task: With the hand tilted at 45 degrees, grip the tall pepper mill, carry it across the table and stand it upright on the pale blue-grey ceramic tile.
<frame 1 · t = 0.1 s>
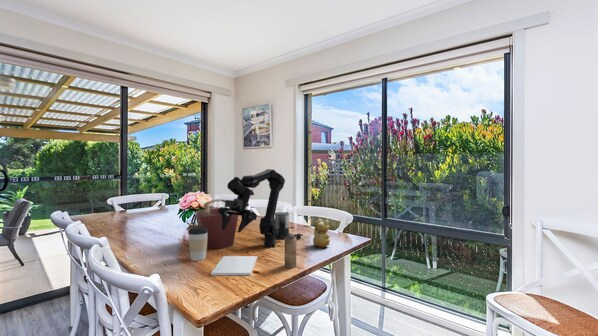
hand: (230, 231, 126), 15 cm above the table, tool tilted 35°, fingers open, 9 cm apart
pepper mill: (290, 266, 124), on the table
decorative figurine: (320, 247, 152), on the table
milk frother: (288, 238, 170), on the table
coffee cup: (198, 258, 134), on the table
bucket: (217, 244, 156), on the table
ceramic tile: (235, 266, 124), on the table
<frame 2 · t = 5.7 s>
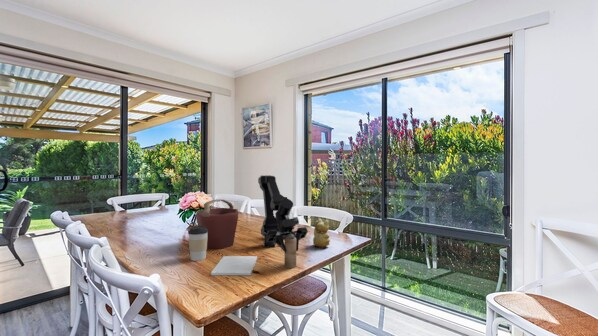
hand: (291, 251, 123), 7 cm above the table, tool tilted 45°, fingers closed on pepper mill, 5 cm apart
pepper mill: (290, 266, 124), on the table, touching gripper
everything else where it was.
when the fingers open (9 cm above the table, at t = 10.9 s): pepper mill drops 1 cm, resting on ceramic tile.
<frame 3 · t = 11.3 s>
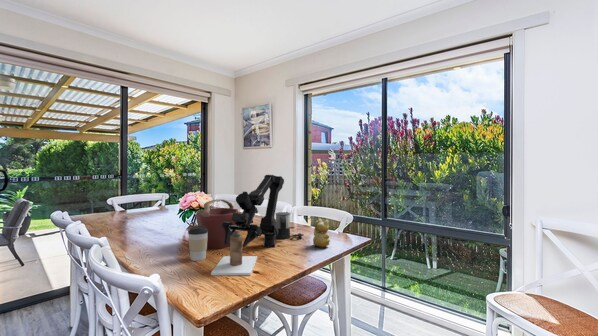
hand: (234, 245, 122), 9 cm above the table, tool tilted 45°, fingers open, 9 cm apart
pepper mill: (236, 263, 124), point 1 cm above the table, touching ceramic tile
everything else where it was.
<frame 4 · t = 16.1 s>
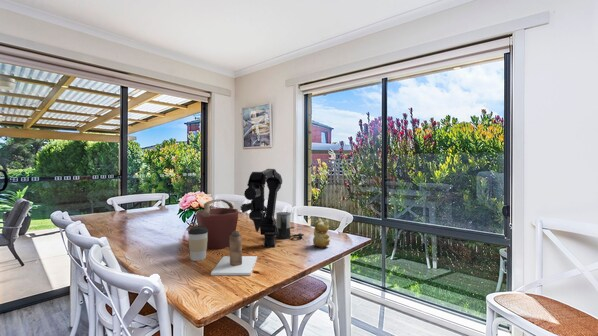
hand: (258, 229, 138), 13 cm above the table, tool pointing down, fingers open, 9 cm apart
nothing on the table moved.
at the end: pepper mill inside the target area on the ceramic tile (0.1 cm from its centre), point 1.1 cm above the ceramic tile's base; pepper mill tilted 2°; the gripper is holding nothing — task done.
